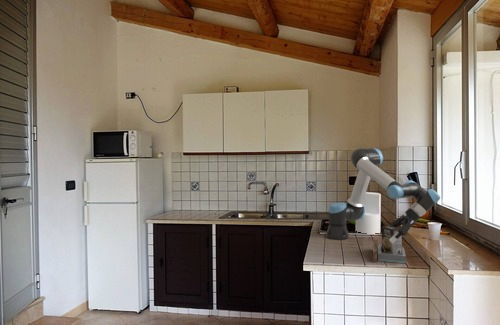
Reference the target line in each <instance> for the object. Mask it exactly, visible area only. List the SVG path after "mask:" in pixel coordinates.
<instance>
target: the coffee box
mask: <svg viewBox="0 0 500 325" xmlns="http://www.w3.org/2000/svg"><path fill="white" fill-rule="evenodd" d="M400 229H401V227H393V226H390V225H382V226H381V246H382V253H386V254H397V255H401V247H403V245H402V241H403V238H402V237H403V235H402V236H401V237H400V238H399V239H397V240H396V241H395V242H394V243H391V242H390V241H389V239H390V238H391V237H392V236H394V235H395V234H396V233H397V232H398V231H399V230H400Z"/></svg>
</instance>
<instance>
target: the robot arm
mask: <svg viewBox="0 0 500 325" xmlns="http://www.w3.org/2000/svg"><path fill="white" fill-rule="evenodd" d="M383 161H384V156H383V153H382V151H381V150H380V149H378V148H374V147H371V148H370V147H369V148H368V147H367V148H361V147H360V148H356V149H354V150H353V151H352V152H351V155H350V163H351V164H352V165H353V167H354V168H355V169H357V170H358V173H357V175H356V179H355V182H354V186H353V189H352V192H351V195H350V197H349V198H348V199H347V200H346V202H344V201H343V202H341V201H340V202H333V203H331V204H329V207H328V228H327V231H326V234H325V236H326V237H327V239H332V240H341V241H342V240H347V239H349V238H350V234H349V230H348V227H347V222H349V221H350V220H358V219H361V218H362V217H363V216H364V215H365V207H364V203H363V199H364V196H365V193H366V192H367V190H368V186H369V184H370V181H371V180H373V181H374V182H375V183H377V184H378V185H379V186H381V188H383V189H385V190H386V193H387V196H388V197H389V198H390V199H395V200H400V199H405V198H406V199H407V198H413V199H414V200H416V201H415V202H414V203H412V205H410V207H409V208H408V209H407V210H405V211H404V213H405V214H402V215H401V216H400V217H398V218H396V219H395V220H394V221H392V222H390V223H389V226H393V227H396V228H399V227H400V226H401V227H400V230H399V231H398V232H397V233H396V234H395V235H394V236H392V237H391V238H390V239H389V241H390V242H391V243H394V242H395V241H396V240H397V239H399V238H400V237H401V236H402V237H403V236H406V235H407V233H408V232H409V230H410V229H411V227H412V226H413V225H414V224H415V223H416V222H418V220H419V219H421V217H423V216H425V215H426V213H427V212H428V211H429V210H430V209H432V207H433V206H434V205H436V204H437V202H439V201H440V200H441V196H440V194H439V193H438V192H437V191H436V190H434V189H433V188H429V189H428V190H427V189H425V188H424V187H422V186H421V185H419V184H418V183H417V182H415V181H413V180H408V181H405V183H403V184H401V183H400V182H398V181H397V180H396V179H394V178H393V177H391V175H389V174H387V173H386V172H385V171H384V170H382V169H381V168H380V167H378V166H380V165H382V163H383Z"/></svg>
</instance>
